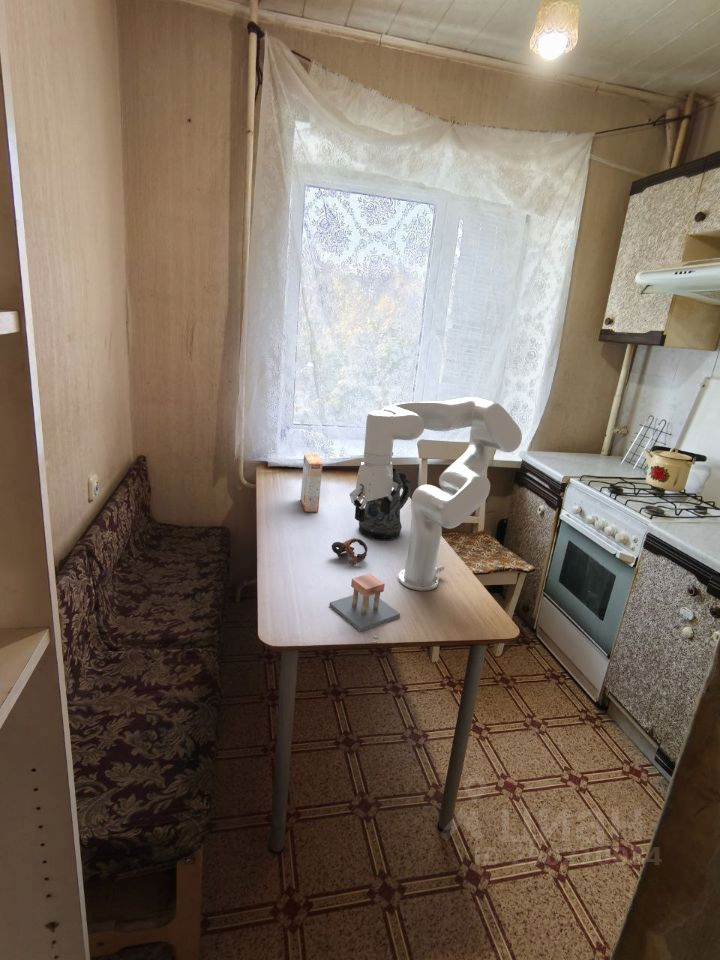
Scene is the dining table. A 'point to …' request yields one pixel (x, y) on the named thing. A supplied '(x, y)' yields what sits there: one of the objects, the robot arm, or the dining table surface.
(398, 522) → the beer stein
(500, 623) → the dining table surface
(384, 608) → the slate mat
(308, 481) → the cracker box
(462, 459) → the robot arm
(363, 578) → the stool
